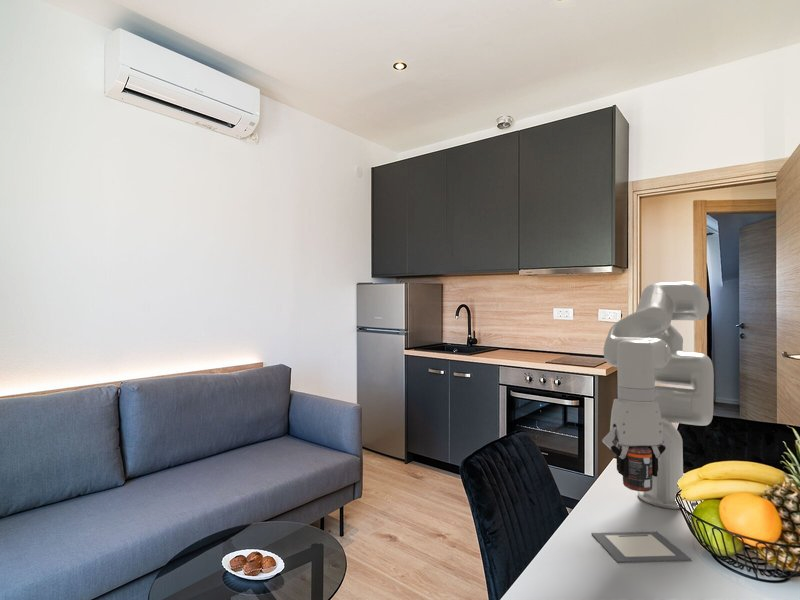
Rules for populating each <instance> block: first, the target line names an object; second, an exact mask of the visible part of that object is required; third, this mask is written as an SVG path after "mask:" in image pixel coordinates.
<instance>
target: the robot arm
mask: <svg viewBox="0 0 800 600" xmlns="http://www.w3.org/2000/svg"><path fill="white" fill-rule="evenodd" d="M709 303H710V302H709V300H708V297H707V294H706V293H705V291H704V289H703V288H702V287H701V286H700V285H699V284H698V283H696V282H693V281H676V282H675V281H674V282H673V281H672V282H671V281H670V282H657V283H652V284H648V285H647V286H646V287H645V288H644V289H643V290H642V292H641V295H640V298H639V301H638V304H637V307H636V310H635V312H633V313H630V314H628V315H626V316H625V317H623V318H621V319H619V320H618V321H616V322H615V323H614V324H613V325H612V326H611V327H610V329H609V331H608V334H607V336H606V339H605V342H604V346H603V357H604V360H605V362H606V363H607V364H608V365H609V366H611V367H614V368H617V375H616V376H617V398H614V399H613V403H612V408H611V412H610V413H611V415H610V421H609V422H610V423H609V424H610V425H609V432H608V433H607V434H606V435H605V436H603V438H602V440H601V442H602V443H603V444H604V445H605V446H606V447H607V448H608V449H609V450H610V451H611V452H612V453H613V454H614V455H615V457H616V470H617V473H618V474H619V475H621V476H622V477H623V476H624V477H627V476H628V460H627V459H626V458H625V456H626V454H627V451H628V448H629V446H648V447H649V448H650V449H651V451H652V480H653V481H652V484H653V485H652V490H650V491H647V492H641V491H637V493H638V497H639V498H640V499H641V500H642V501H643V502H646V503H648V504H650V505H652V506H656V507H659V508H664V509H671V510H672V509H673V510H674V509H675V510H678V509H679V507H678V505H677V503H676V501H675V494H676V493H677V492H679V491H680V489H679V488H678V486H677V482H678V480H679V479H680V478H681V477H682V476H683V477H684V458H683V457H684V455H683V450H684V449H683V448H684V447H683V445H684V444H683V438H682V435H681V433H680V431H679V430H678V429H677V428H676V427H675V425H674V424H673V423H675V424H682V425H683V424H684V425H692V426H701V427H702V426H708V425H710V424H711V423H712V420H713V418H714V417H713V416H714V393H715V392H714V387H715V386H714V385H715V383H714V380H715V379H714V378H715V377H714V376H715V374H714V373H715V372H714V365H713V361H712V359H711V358H710V357H709V356H708V355H707V354H704V353H700V352H691V351H690V352H688V351H684V350H683V347H684V346H683V344H684V338H683V336H682V334H681V333H680V332H679V331H678V329H677V328H675V327H674V326H673V325H672V324H671V322H672V321H702V320H704V319H705V318H706V317H707V316H708V314H709V309H710V308H709V307H710V305H709ZM656 384H663V385H672V386H673V385H674V386H682V387H683V386H684V388H682V387H672V386H663V385H656ZM685 387H691V388H685ZM613 441H614V442H616V445H615V444H614V443H613ZM679 510H680V509H679Z"/></svg>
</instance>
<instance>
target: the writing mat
mask: <svg viewBox="0 0 800 600" xmlns="http://www.w3.org/2000/svg"><path fill="white" fill-rule="evenodd" d="M591 535H592V537H593V538H594V539H595V540H596V541H597V543H599V544H600V545H601V546H602V547H603V548H604V549H605V551H606V552H608V554H609V555H610V556H611V558H613V559H614V560H615V561H616V562H617V563H621V564H623V563H651V562H652V563H653V562H655V563H656V562H657V563H658V562H659V563H661V562H692V560H693V559H692V558H690V556H688V555H687V554H686V553H685V552H683V551H682V550H681V549H680V548H678V547H677V546H676V545H675V544H674V543H672V542H671V541H670V540H668V539H667V538H666V537H665V536H663V535H662V534H661V533H660V532H659V531H657V530H656V531H621V532H620V531H619V532H618V531H615V532H614V531H613V532H591Z"/></svg>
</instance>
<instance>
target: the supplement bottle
mask: <svg viewBox="0 0 800 600" xmlns="http://www.w3.org/2000/svg"><path fill="white" fill-rule="evenodd" d="M625 458H626V459H627V460H628V476H627V477H624V476H622V484H623V485H624V487H626V489H628V490H631V491H636V492H638V491H641V492H647V491H650V490H652V485H653V484H652V481H653V480H652V451H651V449H650V448H649V447H648V446H629V448H628V451H627V454H626V456H625Z"/></svg>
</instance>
